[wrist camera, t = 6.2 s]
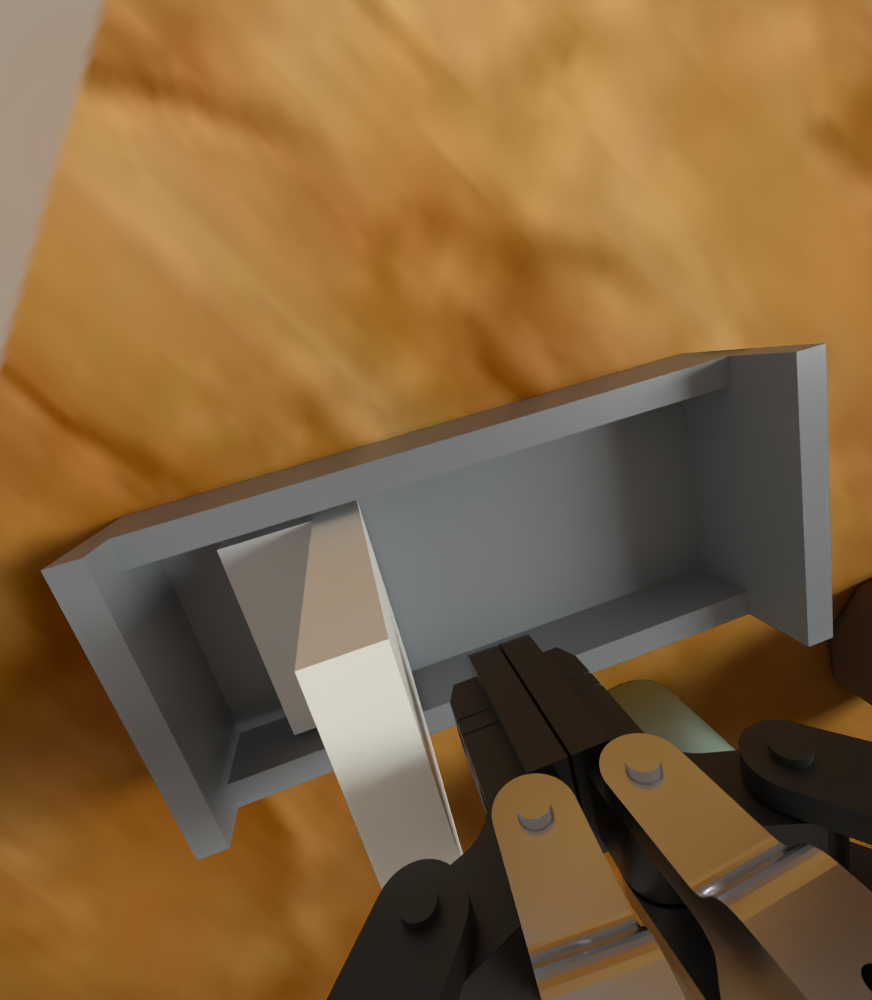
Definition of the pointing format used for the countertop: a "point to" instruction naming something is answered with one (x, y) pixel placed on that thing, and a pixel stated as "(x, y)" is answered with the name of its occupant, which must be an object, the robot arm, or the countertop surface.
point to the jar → (667, 717)
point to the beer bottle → (854, 644)
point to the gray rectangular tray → (475, 557)
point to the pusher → (346, 676)
